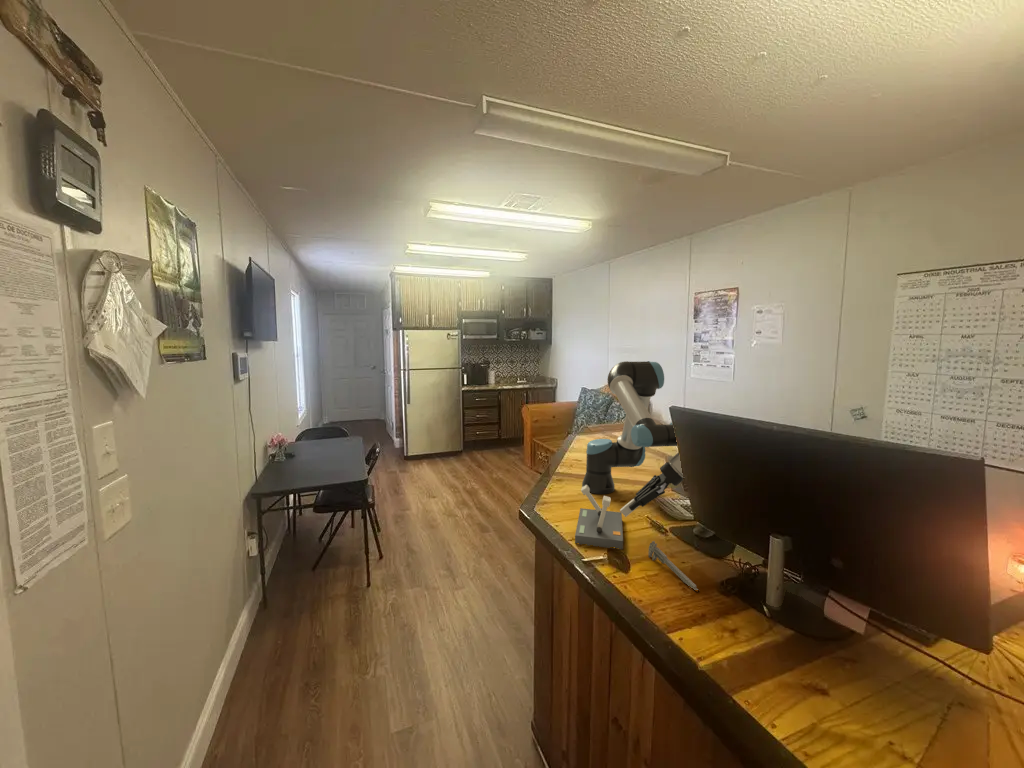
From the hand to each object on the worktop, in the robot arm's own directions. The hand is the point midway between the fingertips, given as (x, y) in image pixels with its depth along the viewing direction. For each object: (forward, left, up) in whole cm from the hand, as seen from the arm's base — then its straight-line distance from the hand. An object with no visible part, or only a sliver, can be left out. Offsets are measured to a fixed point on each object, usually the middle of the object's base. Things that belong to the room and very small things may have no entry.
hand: (622, 513), depth 141 cm
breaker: (-14, -8, -7) cm, 18 cm away
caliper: (+16, +14, -11) cm, 24 cm away
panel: (-7, -8, -11) cm, 15 cm away
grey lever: (0, -8, -7) cm, 10 cm away
